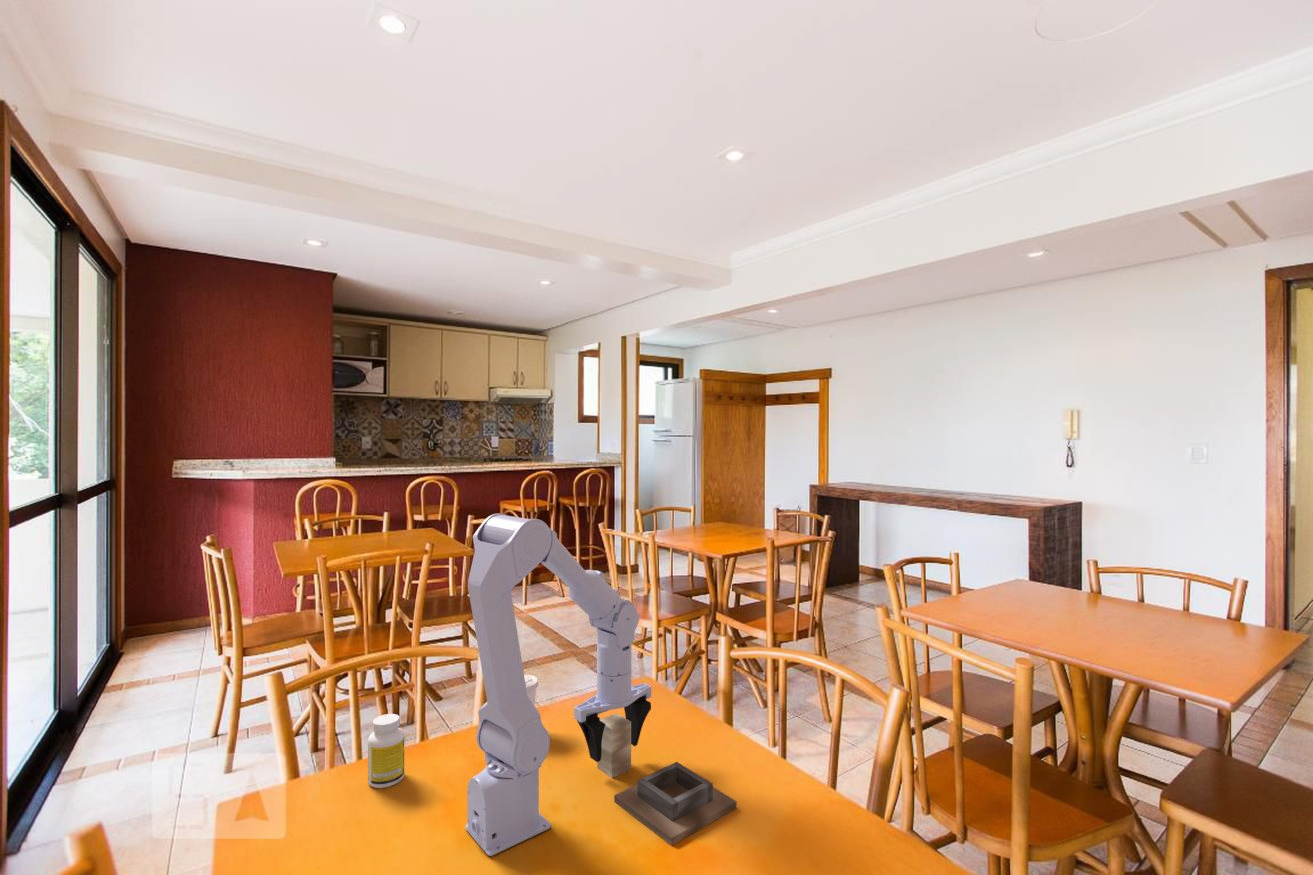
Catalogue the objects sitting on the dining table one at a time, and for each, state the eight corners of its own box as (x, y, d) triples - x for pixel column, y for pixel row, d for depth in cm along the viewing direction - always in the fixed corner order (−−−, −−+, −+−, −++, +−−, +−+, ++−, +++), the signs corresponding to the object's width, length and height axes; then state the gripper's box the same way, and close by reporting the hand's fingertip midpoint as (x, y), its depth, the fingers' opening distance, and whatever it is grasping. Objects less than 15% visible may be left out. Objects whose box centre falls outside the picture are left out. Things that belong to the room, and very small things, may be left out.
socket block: (671, 845, 85) (671, 819, 85) (614, 801, 95) (614, 778, 94) (736, 807, 93) (736, 784, 93) (677, 771, 103) (677, 750, 103)
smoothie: (500, 728, 118) (500, 654, 117) (533, 721, 120) (533, 649, 120) (507, 744, 112) (507, 666, 112) (542, 736, 114) (542, 660, 114)
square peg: (611, 777, 101) (611, 728, 101) (597, 767, 104) (597, 720, 104) (631, 769, 104) (631, 721, 103) (616, 759, 107) (616, 713, 107)
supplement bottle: (410, 779, 101) (410, 718, 100) (376, 793, 97) (376, 730, 97) (395, 766, 104) (395, 708, 104) (362, 779, 100) (361, 719, 100)
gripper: (633, 652, 111) (633, 728, 112) (563, 673, 102) (563, 755, 102) (659, 664, 106) (659, 743, 106) (588, 687, 97) (588, 774, 97)
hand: (614, 750), depth 104 cm, fingers open, 7 cm apart
